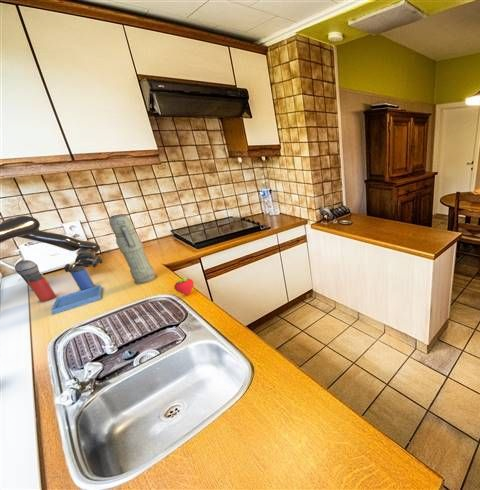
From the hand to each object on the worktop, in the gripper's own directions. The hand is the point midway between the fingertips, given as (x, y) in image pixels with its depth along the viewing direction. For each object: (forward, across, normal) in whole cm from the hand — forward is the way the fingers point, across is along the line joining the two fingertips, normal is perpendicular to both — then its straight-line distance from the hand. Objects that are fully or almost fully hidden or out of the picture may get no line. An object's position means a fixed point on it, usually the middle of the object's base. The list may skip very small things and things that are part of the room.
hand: (82, 268), depth 137 cm
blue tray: (+22, -2, +8) cm, 24 cm away
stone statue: (+21, +23, +8) cm, 32 cm away
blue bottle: (+10, 0, +8) cm, 13 cm away
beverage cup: (-12, -20, +8) cm, 25 cm away
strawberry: (+56, +37, +8) cm, 67 cm away
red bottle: (+8, -14, +8) cm, 18 cm away
